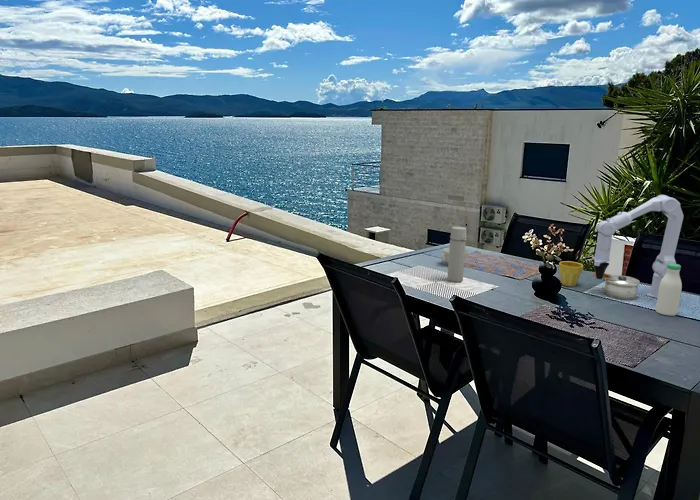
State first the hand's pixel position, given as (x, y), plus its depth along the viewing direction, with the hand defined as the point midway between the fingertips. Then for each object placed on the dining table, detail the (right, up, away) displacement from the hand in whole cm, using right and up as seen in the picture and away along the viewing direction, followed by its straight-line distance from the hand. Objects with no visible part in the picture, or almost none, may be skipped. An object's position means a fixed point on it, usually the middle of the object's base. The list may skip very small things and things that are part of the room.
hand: (599, 278), depth 240 cm
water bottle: (-60, -2, +15) cm, 62 cm away
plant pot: (-8, -3, +13) cm, 16 cm away
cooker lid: (+7, -1, -1) cm, 7 cm away
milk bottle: (+17, -13, -22) cm, 31 cm away
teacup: (-57, +5, +41) cm, 70 cm away
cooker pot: (+8, -7, +1) cm, 10 cm away
